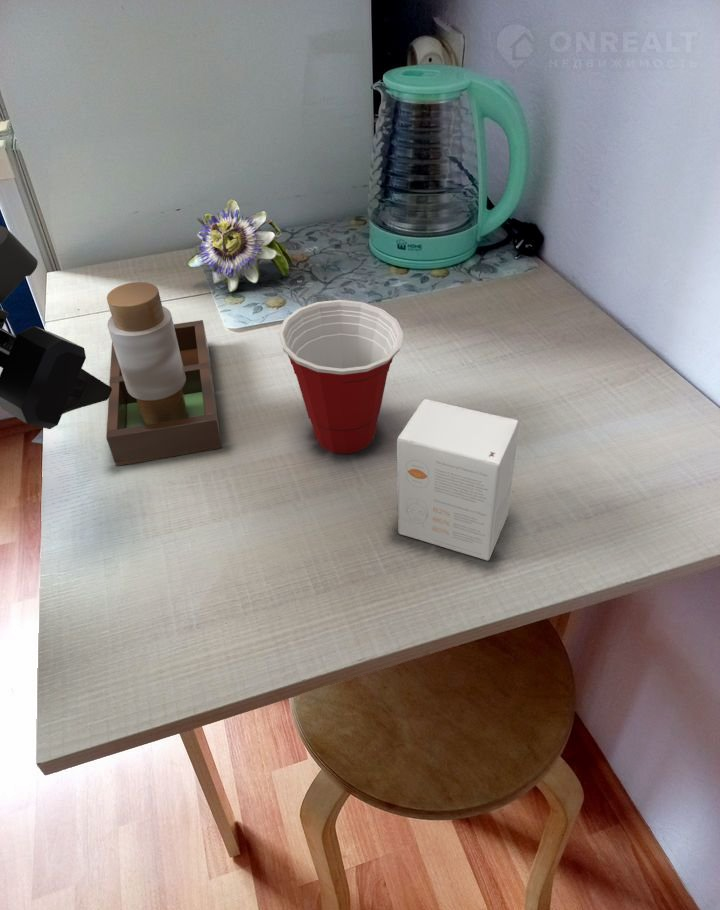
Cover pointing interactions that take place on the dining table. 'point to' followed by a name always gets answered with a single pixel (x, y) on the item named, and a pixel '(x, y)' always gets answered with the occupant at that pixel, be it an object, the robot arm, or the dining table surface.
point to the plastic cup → (341, 367)
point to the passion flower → (237, 246)
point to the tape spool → (147, 351)
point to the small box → (455, 477)
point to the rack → (170, 437)
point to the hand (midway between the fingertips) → (74, 375)
